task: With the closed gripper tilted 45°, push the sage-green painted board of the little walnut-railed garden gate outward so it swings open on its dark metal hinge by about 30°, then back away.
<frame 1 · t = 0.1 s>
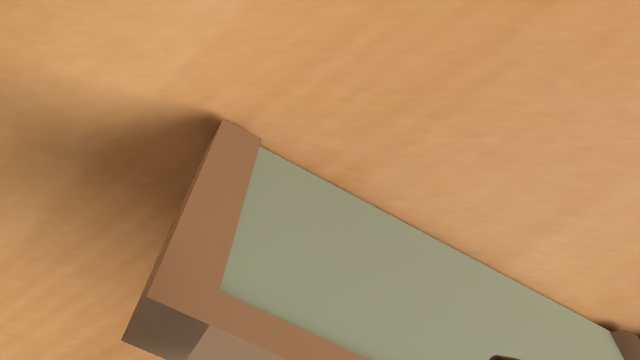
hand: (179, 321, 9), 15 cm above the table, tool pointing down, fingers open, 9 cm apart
gate: (462, 342, 21), point 5 cm above the table, hinge at 0.0°
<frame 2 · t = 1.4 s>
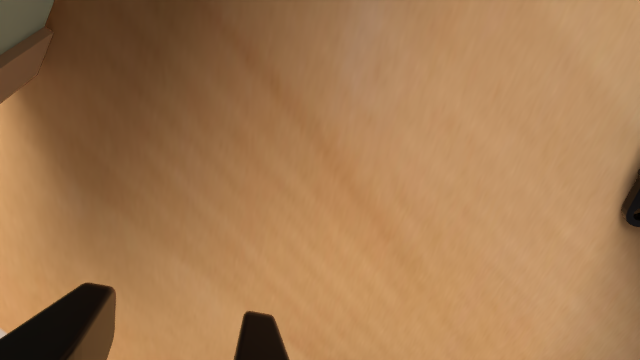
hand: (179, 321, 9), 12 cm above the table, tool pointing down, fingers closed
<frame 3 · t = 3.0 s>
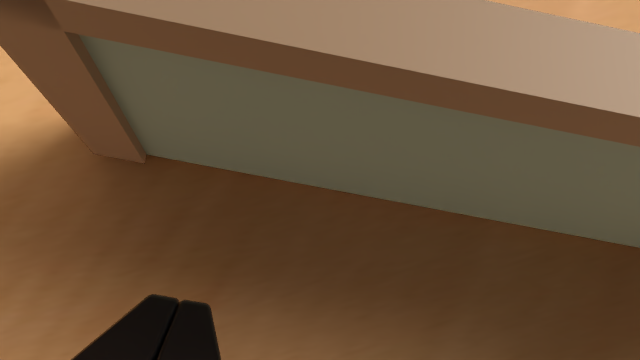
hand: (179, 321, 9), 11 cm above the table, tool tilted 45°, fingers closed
gate: (473, 146, 15), point 5 cm above the table, hinge at 0.0°
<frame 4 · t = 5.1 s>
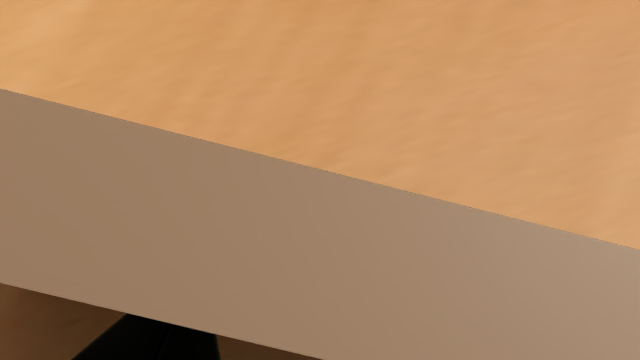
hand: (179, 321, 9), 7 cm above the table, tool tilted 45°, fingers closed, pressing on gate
gate: (531, 356, 10), point 5 cm above the table, hinge at 2.8°, touching gripper
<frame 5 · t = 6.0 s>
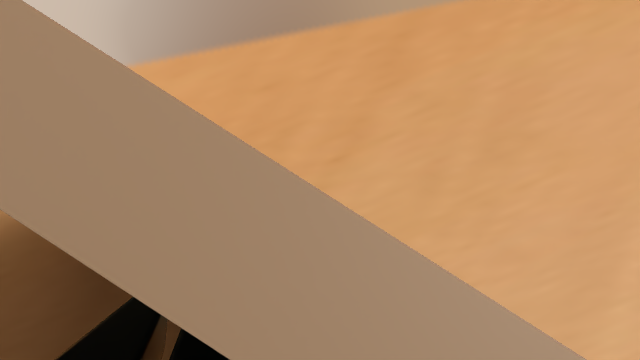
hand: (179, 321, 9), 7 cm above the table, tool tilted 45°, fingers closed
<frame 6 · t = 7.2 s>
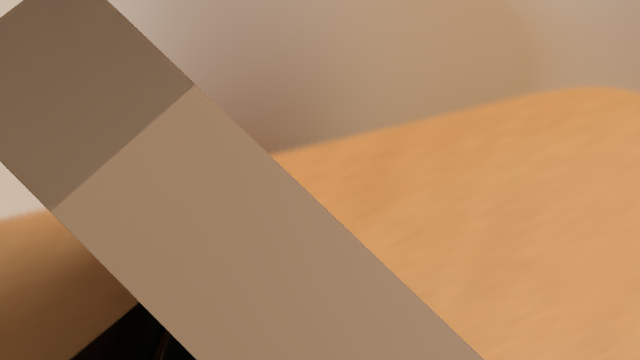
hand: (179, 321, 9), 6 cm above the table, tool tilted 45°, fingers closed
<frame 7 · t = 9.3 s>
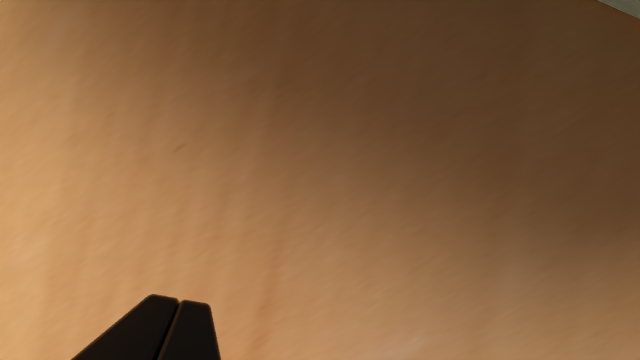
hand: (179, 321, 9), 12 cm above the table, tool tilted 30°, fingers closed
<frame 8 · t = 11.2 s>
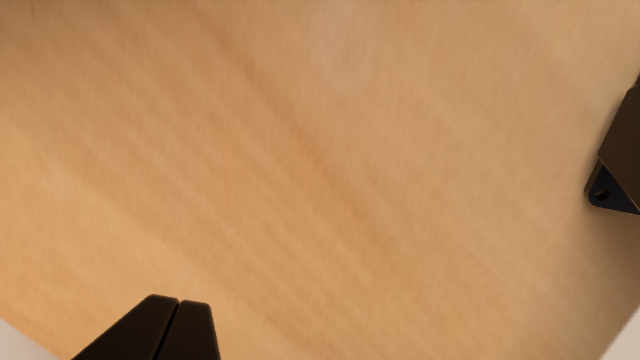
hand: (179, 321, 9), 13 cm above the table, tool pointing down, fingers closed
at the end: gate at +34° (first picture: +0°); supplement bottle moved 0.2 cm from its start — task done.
